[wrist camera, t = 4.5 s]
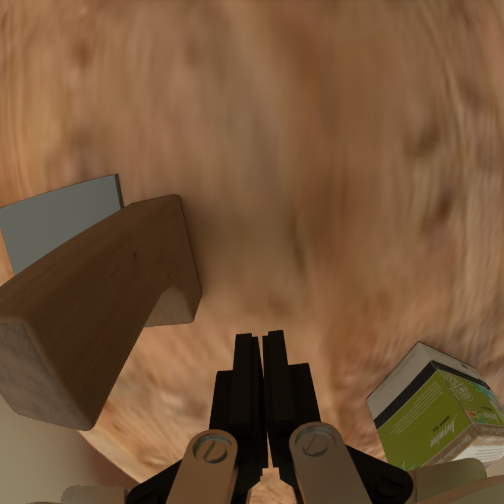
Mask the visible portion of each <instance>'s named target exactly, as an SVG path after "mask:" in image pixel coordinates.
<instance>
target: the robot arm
mask: <svg viewBox="0 0 504 504" xmlns="http://www.w3.org/2000/svg"><path fill="white" fill-rule="evenodd" d="M262 340H263V366H264V377H263V370H262V363H261V356H260V349H259V341H258V337H252V334H251V333H247V334H236V340H235V351H234V363H233V370H227V371H218V372H217V375H216V382H215V388H214V395H213V403H212V410H211V417H210V424H209V430H206V431H203V432H201V433H199V434H197V435H195V436H194V437H193V438H192V439H191V441H190V442H189V444H188V446H187V449H186V451H185V454H184V457H183V459H181V460H179V461H178V462H176V463H175V464H173V465H172V466H170V467H168V468H167V469H165V470H163V471H162V472H160V473H158V474H157V475H155V476H153V477H152V478H150V479H148V480H146V481H145V482H143V483H141V484H139V485H138V486H136V487H135V488H133V489H125V488H124V487H95V486H80V485H77V486H70V487H68V488H67V489H66V490H65V491H64V492H63V494H62V497H61V503H56V502H33V503H28V504H249V502H250V497H251V492H252V487H253V486H254V485H256V484H257V483H258V482H259V481H260V476H262V468H268V443H267V432H268V439H269V445H270V451H271V457H272V463H273V468H275V467H279V474H280V479H281V480H282V481H284V482H285V483H287V484H288V485H290V486H292V491H293V494H294V498H295V501H296V504H504V475H499V476H492V477H487V475H486V470H485V467H484V465H483V463H482V462H481V461H480V460H479V459H476V458H473V457H472V458H464V459H460V460H455V461H450V462H445V463H440V464H435V465H429V466H422V467H416V468H415V469H414V470H409V471H404V470H403V469H401V468H398V467H396V466H393V465H391V464H388V463H386V462H383V461H381V460H379V459H376V458H374V457H372V456H370V455H367V454H365V453H363V452H361V451H359V450H356V449H354V448H352V447H350V446H348V445H346V444H345V443H344V441H343V439H342V437H341V435H340V433H339V432H338V430H337V429H336V428H335V427H333V426H332V425H330V424H327V423H325V422H321V419H320V414H319V409H318V404H317V400H316V395H315V390H314V386H313V381H312V376H311V372H310V367H309V364H308V363H302V364H294V365H288V361H287V354H286V347H285V340H284V333H283V330H277V331H268V336H262Z"/></svg>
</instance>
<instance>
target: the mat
mask: <svg viewBox="0 0 504 504" xmlns="http://www.w3.org/2000/svg"><path fill="white" fill-rule="evenodd" d="M122 208H124V207H123V202H122V197H121V192H120V186H119V180H118V175H117V174H115V175H111V176H106V177H102V178H98V179H94V180H90V181H86V182H83V183H79V184H75V185H72V186H68V187H64V188H61V189H57V190H54V191H51V192H47V193H44V194H41V195H38V196H35V197H32V198H28V199H25V200H22V201H19V202H17V203H14V204H11V205H8V206H5V207H2V208H0V227H1V231H2V235H3V239H4V242H5V246H6V249H7V253H8V256H9V259H10V262H11V265H12V268H13V271H14V274H15V276H16V275H17V274H18V273H20V272H21V271H23V270H24V269H25V268H27V267H28V266H30V265H31V264H33V263H34V262H36V261H37V260H38V259H40V258H41V257H43V256H44V255H46V254H47V253H49V252H51V251H52V250H54V249H55V248H57V247H58V246H60V245H61V244H63V243H65V242H66V241H68V240H69V239H71V238H73V237H74V236H76V235H77V234H79V233H81V232H82V231H84V230H86V229H87V228H89V227H91V226H93V225H94V224H96V223H98V222H99V221H101V220H103V219H105V218H106V217H108V216H110V215H112V214H113V213H115V212H117V211H119V210H121V209H122ZM149 327H152V326H149Z"/></svg>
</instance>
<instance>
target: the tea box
mask: <svg viewBox="0 0 504 504" xmlns="http://www.w3.org/2000/svg"><path fill="white" fill-rule="evenodd" d="M366 401H367V404H368V406H369V410H370V412H371V415H372V418H373V420H374V423H375V426H376V429H377V432H378V434H379V437H380V440H381V443H382V446H383V449H384V452H385V455H386V458H387V461H388V464H391V465H393V466H396V467H398V468H401V469H403V470H404V471H409V470H414V469H415V468H416V467H422V466H429V465H435V464H440V463H445V462H450V461H455V460H460V459H464V458H472V457H473V458H476V459H479V460H480V461H481V462H482V463H483V465H484V467H485V470H487V469H489V468H490V467H491V466H492V465H493V464H495V463H496V462H497V461H498V460H499V459H500V458H501V457H502V456H503V455H504V406H503V405H502V404H501V402H500V401H499V400H498V398H497V397H496V395H495V394H494V393H493V391H492V390H491V389H490V387H489V386H488V385H487V384H486V382H485V381H484V380H483V378H482V377H481V376H480V374H479V373H478V372H477V371H476V370H475V369H473V368H472V367H470V366H468V365H466V364H464V363H462V362H460V361H458V360H455V359H453V358H451V357H449V356H448V355H446V354H443V353H441V352H439V351H437V350H435V349H433V348H431V347H429V346H426V345H424V344H422V343H420V342H417V343H416V345H415V346H414V347H413V348H412V349H411V350H410V352H409V353H408V354H407V355H406V356H405V357H404V359H403V360H402V361H401V362H400V363H399V364H398V366H397V367H396V368H395V369H394V370H393V371H392V372H391V373H390V374H389V376H388V377H387V378H386V379H385V380H384V381H383V382H382V383H381V384H380V385H379V386H378V387H377V388H376V389H375V391H374V392H373V393H372V394H371V395H370V396H369V397H368V398H367V400H366Z"/></svg>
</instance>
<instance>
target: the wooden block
mask: <svg viewBox="0 0 504 504" xmlns="http://www.w3.org/2000/svg"><path fill="white" fill-rule="evenodd" d="M201 296H202V292H201V288H200V284H199V280H198V276H197V272H196V268H195V264H194V260H193V256H192V251H191V247H190V243H189V238H188V234H187V229H186V225H185V220H184V216H183V211H182V206H181V202H180V198H179V196H178V195H174V194H173V195H168V196H164V197H159V198H154V199H149V200H145V201H140V202H136V203H131V204H130V205H128V206H126V207H124V208H122V209H121V210H119V211H117V212H115V213H113V214H112V215H110V216H108V217H106V218H105V219H103V220H101V221H99V222H98V223H96V224H94V225H93V226H91V227H89V228H87V229H86V230H84V231H82V232H81V233H79V234H77V235H76V236H74V237H73V238H71V239H69V240H68V241H66V242H65V243H63V244H61V245H60V246H58V247H57V248H55V249H54V250H52V251H51V252H49V253H47V254H46V255H44V256H43V257H41V258H40V259H38V260H37V261H36V262H34V263H33V264H31V265H30V266H28V267H27V268H25V269H24V270H23V271H21V272H20V273H18V274H17V275H16V276H14V277H13V278H11V279H10V280H9V281H7V282H6V283H5V284H3V285H2V286H1V287H0V393H1V395H2V396H3V398H4V399H5V401H6V402H7V403H8V404H9V406H10V407H11V408H12V410H13V411H14V412H16V413H17V414H19V415H22V416H25V417H29V418H32V419H36V420H40V421H43V422H47V423H51V424H55V425H59V426H63V427H68V428H72V429H77V430H82V431H88V430H91V429H92V428H93V427H94V426H95V424H96V422H97V420H98V417H99V415H100V413H101V411H102V409H103V407H104V405H105V403H106V400H107V398H108V396H109V394H110V392H111V390H112V388H113V386H114V384H115V382H116V380H117V378H118V376H119V374H120V372H121V370H122V368H123V366H124V364H125V362H126V360H127V358H128V356H129V354H130V352H131V350H132V349H133V347H134V345H135V343H136V341H137V339H138V337H139V335H140V333H141V331H142V330H143V328H144V327H149V326H162V325H175V324H187V323H191V322H193V321H194V318H195V315H196V312H197V309H198V306H199V302H200V299H201Z"/></svg>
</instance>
